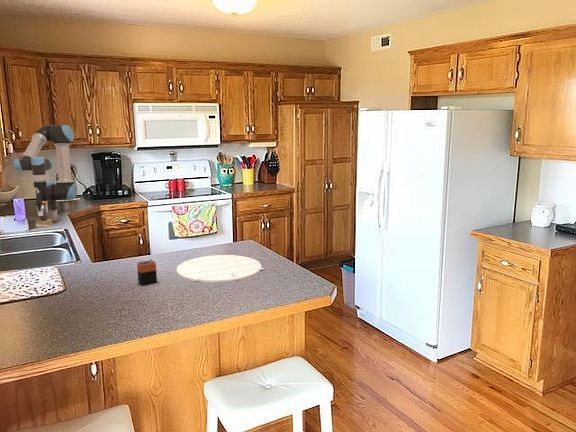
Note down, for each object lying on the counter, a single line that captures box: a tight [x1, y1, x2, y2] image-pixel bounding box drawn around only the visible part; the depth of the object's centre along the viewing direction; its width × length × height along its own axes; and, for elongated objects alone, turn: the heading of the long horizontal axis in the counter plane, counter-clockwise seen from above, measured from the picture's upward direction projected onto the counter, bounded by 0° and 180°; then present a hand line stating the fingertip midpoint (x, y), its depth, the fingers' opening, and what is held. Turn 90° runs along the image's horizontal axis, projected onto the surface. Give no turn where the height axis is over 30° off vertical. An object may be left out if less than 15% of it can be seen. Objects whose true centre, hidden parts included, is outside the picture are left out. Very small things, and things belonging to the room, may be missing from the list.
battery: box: [136, 259, 158, 287], centre depth 201 cm, size 4×7×10 cm, turn 126°
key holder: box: [35, 218, 53, 229], centre depth 311 cm, size 8×8×4 cm
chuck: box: [47, 210, 62, 224], centre depth 324 cm, size 12×12×8 cm
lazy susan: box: [176, 254, 265, 283], centre depth 222 cm, size 40×39×3 cm
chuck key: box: [39, 201, 48, 221], centre depth 309 cm, size 4×8×16 cm, turn 104°
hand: (43, 213), depth 309 cm, fingers open, 12 cm apart
